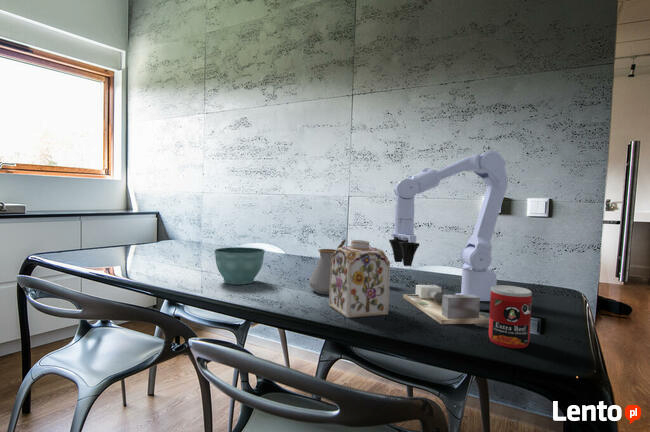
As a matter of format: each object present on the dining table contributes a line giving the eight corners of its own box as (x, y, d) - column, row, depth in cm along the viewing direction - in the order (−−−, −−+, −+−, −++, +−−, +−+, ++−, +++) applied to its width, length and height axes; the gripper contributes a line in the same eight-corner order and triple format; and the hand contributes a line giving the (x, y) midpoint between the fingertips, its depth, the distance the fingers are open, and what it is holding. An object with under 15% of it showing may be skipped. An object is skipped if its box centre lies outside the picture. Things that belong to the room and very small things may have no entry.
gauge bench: (441, 297, 117) (441, 277, 117) (488, 323, 92) (489, 298, 92) (403, 297, 115) (403, 277, 115) (441, 324, 90) (442, 298, 90)
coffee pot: (338, 298, 112) (340, 246, 111) (302, 293, 116) (304, 243, 116) (359, 284, 132) (361, 240, 131) (328, 280, 136) (330, 238, 135)
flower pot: (204, 280, 129) (205, 248, 128) (247, 276, 139) (248, 245, 139) (228, 290, 117) (229, 254, 116) (273, 284, 128) (274, 251, 127)
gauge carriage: (434, 294, 114) (435, 284, 114) (450, 303, 105) (451, 292, 105) (405, 294, 113) (405, 284, 113) (418, 303, 103) (418, 292, 103)
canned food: (489, 345, 78) (491, 290, 77) (487, 333, 85) (490, 283, 85) (531, 351, 75) (535, 295, 74) (526, 338, 82) (529, 287, 82)
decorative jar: (328, 305, 103) (330, 238, 102) (366, 303, 107) (369, 238, 107) (347, 319, 92) (350, 243, 91) (389, 315, 96) (392, 243, 96)
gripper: (384, 218, 124) (382, 260, 125) (400, 220, 110) (398, 267, 110) (405, 218, 125) (403, 260, 126) (423, 220, 111) (422, 267, 111)
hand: (402, 263), depth 118 cm, fingers open, 7 cm apart
